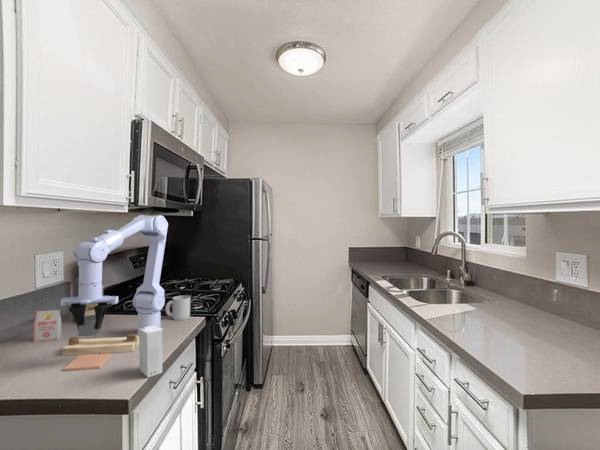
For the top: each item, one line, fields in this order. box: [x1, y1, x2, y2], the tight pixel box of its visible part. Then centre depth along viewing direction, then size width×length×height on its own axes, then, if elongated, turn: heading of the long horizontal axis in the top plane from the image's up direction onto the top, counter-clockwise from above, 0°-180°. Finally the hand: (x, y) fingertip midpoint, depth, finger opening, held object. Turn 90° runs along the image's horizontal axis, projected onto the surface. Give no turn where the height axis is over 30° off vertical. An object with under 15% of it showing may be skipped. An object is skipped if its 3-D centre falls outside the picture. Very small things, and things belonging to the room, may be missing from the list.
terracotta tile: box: [63, 353, 113, 372], centre depth 92 cm, size 9×9×1 cm
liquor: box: [72, 275, 104, 323], centre depth 130 cm, size 9×9×30 cm
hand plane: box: [61, 333, 139, 356], centre depth 101 cm, size 8×20×4 cm, turn 102°
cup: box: [165, 295, 191, 321], centre depth 134 cm, size 7×10×9 cm
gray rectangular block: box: [77, 320, 102, 337], centre depth 92 cm, size 5×4×3 cm
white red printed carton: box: [32, 309, 62, 342], centre depth 108 cm, size 4×7×10 cm, turn 111°
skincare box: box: [138, 325, 163, 378], centre depth 87 cm, size 6×4×12 cm
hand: (89, 328), depth 92 cm, fingers closed on gray rectangular block, 4 cm apart
